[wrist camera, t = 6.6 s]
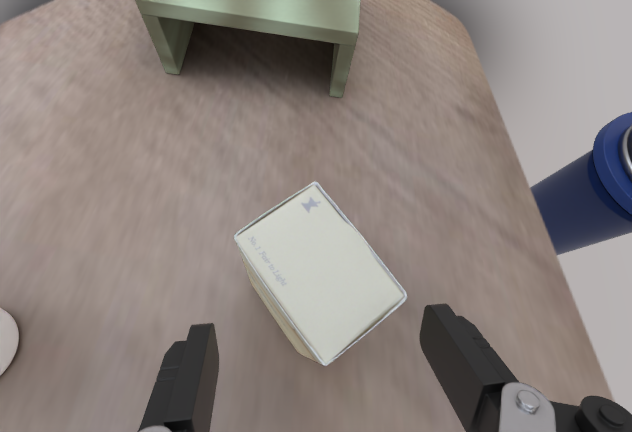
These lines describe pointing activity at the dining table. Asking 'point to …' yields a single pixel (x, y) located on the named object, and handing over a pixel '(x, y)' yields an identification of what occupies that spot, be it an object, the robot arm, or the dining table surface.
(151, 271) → the dining table surface
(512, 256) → the dining table surface
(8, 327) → the white tumbler
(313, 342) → the cosmetic box
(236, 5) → the shelf
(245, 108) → the dining table surface
